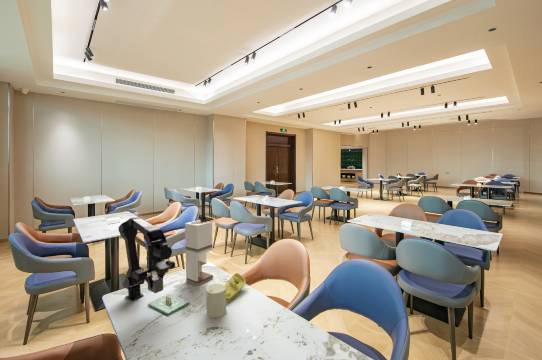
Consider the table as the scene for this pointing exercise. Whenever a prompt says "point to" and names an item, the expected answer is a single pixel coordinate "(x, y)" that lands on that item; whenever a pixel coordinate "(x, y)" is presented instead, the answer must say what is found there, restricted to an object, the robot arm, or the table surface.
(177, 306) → the pcb board
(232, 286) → the plastic component
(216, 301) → the can
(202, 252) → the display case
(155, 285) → the grey ice pop
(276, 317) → the table surface
